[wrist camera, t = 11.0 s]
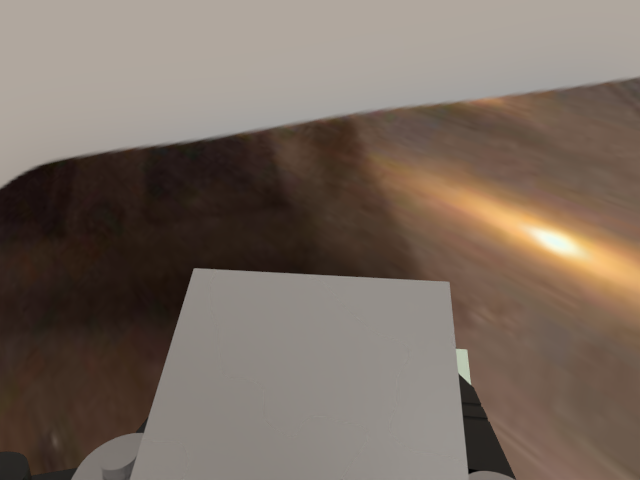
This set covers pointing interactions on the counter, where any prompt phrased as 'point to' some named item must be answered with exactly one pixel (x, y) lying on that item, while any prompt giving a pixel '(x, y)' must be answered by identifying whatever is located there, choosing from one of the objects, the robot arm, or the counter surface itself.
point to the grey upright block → (308, 382)
